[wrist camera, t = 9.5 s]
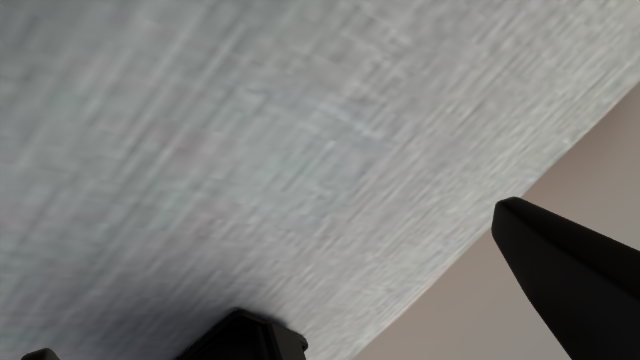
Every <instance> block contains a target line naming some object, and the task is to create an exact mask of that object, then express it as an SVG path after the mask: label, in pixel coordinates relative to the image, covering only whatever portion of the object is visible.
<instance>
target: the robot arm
mask: <svg viewBox="0 0 640 360" xmlns="http://www.w3.org/2000/svg"><path fill="white" fill-rule="evenodd" d="M491 230H492V236H493V238H494V240H495V242H496V244H497V246H498V247H499V249H500V251H501V253H502V254H503V256H504V258H505V260H506V261H507V263H508V265H509V267H510V268H511V270H512V272H513V274H514V275H515V277H516V279H517V281H518V282H519V284H520V286H521V288H522V290H523V291H524V293H525V294H526V296H527V298H528V299H529V301H530V302H531V304H532V305H533V307H534V308H535V309H536V311H537V312H538V313H539V315H540V316H541V318H542V319H543V321H544V322H545V323H546V325H547V326H548V328H549V329H550V330H551V332H552V333H553V334H554V336H555V337H556V338H557V340H558V341H559V343H560V344H561V345H562V347H563V348H564V350H565V351H566V352H567V354H568V355H569V357H570V358H571V359H572V360H640V251H638V250H636V249H634V248H631V247H629V246H627V245H624V244H622V243H620V242H618V241H616V240H613V239H611V238H609V237H607V236H604V235H602V234H600V233H598V232H595V231H593V230H591V229H589V228H586V227H584V226H582V225H580V224H577V223H575V222H573V221H570V220H568V219H566V218H564V217H561V216H559V215H557V214H555V213H553V212H550V211H548V210H546V209H544V208H541V207H539V206H537V205H535V204H532V203H530V202H528V201H525V200H523V199H521V198H518V197H510V198H507V199H504V200H501V201H498V202H497V203H496V205H495V209H494V215H493V221H492V227H491ZM307 348H308V343H307V340H306V339H305V338H303V337H301V336H299V335H297V334H295V333H293V332H291V331H289V330H286V329H284V328H282V327H280V326H278V325H276V324H273V323H270V322H268V321H266V320H264V319H262V318H260V317H257V316H255V315H253V314H251V313H249V312H246V311H244V310H236V311H234V312H232V313H231V314H229V315H228V316H227V317H226V318H225V319H224V320H222V321H221V322H220V323H219V324H218V325H216V326H215V327H214V328H213V329H212V330H210V331H209V332H208V333H207V334H206V335H205V336H203V337H202V338H201V339H200V340H199V341H197V342H196V343H195V344H194V345H193V346H191V347H190V348H189V349H188V350H187V351H186V352H184V353H183V354H182V355H181V356H180V357H178V358H177V359H176V360H306V357H305V355H304V351H305V350H306V349H307ZM21 360H60V359H59V358H58V357H57V356H56V354H55V353H54V352H53V351H52V350H51V349H49V348H43V349H40V350H37V351H34V352H31V353H28V354H26V355H25V356H23V357H22V358H21Z"/></svg>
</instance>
